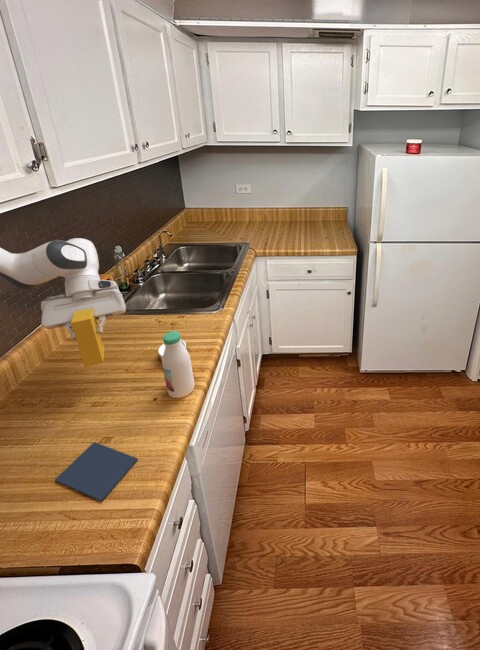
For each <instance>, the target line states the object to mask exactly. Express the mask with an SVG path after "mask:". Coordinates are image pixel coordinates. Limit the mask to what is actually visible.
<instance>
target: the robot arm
mask: <svg viewBox="0 0 480 650" xmlns="http://www.w3.org/2000/svg"><path fill="white" fill-rule="evenodd" d="M97 251H98V250H97V248H96V247H95V245H94V242H93V241H91V240H89V239H86V238H81V237H75V238H70V239H68V240H62V239H54V240H51V241H48V242H45V243H43V244H41V245H39V246H37V247H35V248H32V249H30V250H28V251H26V252H25V251H24V252H21V253H14V252H13V253H12V252H10V251H8V250H6V249H4V248H2V247H0V277H1V278H3V279H5V280H6V281H7V282H9V283H10V284H11V285H13V286H15V287H17V288H20V289H24V290H33V289H36V288H39V287H40V286H43V285H44V284H46V283H47V282H49V281H51V280H53V279H56V278H59V277H63V278H64V289H65V293H61V294H58V295H50V296H47V297H46V298H45V299H43V300H42V301H41V303H40V311H41V312H42V313H41V320H40V321H41V322H40V323H41V324H40V325H41V327H43V328H45V329H46V330H54V329H58V328H63V327H65V328H66V330H67V331H68V332H69V333H70V337H71V340H72V341H75V340H76V338H75V334H74V331H73V328H72V325H71V321H72V318H73V314H74V312H76V311H81V310H86V309H91V308H93V312H94V317H96V320H99V321H100V323H99V324H98V327H96V333H97V334H100V335H101V334H103V333H104V326H105V325H106V323H107V318H110V317H114V316H119V315H124V314H125V313H126V311H127V305H126V302H125V299H124V296H123V295H122V293H121V291H120V288H119V285H118V283H117V282H116V281H115V280H110V279H108V280H107V279H101V276H100V273H99V269H100V262H99V255H98V252H97Z"/></svg>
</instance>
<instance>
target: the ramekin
mask: <svg viewBox="0 0 480 650" xmlns="http://www.w3.org/2000/svg"><path fill="white" fill-rule="evenodd" d="M181 343H182V345H183V346H184V347H185V348H186V349H187V343H186V341H185V340H183V339H181ZM164 351H165V345H164V343H163V344H161V345H160V346H159V347H158V349H157V353H158V355H159V357H160V360H161V361H162V357H163V354H164Z"/></svg>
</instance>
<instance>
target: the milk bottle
mask: <svg viewBox="0 0 480 650" xmlns="http://www.w3.org/2000/svg"><path fill="white" fill-rule="evenodd" d="M181 340H182V336H181V332H179V331H177V330H171V331H168V332H167V333H165V334H164V335H163V337H162V341H163V344H164V345H165V351H164V354H163V357H162V360H161V365H162V371H163V375H164V381H165V386H166V390H167V394H168V395H169V396H170V397H171V398H173V399H182V398H185V397H188V395H190V394H191V393H192V392H193V391H194V389H195V378H194V372H193V367H192V361H191V356H190V353H189V351H188V349H187V347H186V348H185V347H184V346H183V345H182V343H181Z"/></svg>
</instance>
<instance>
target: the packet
mask: <svg viewBox="0 0 480 650" xmlns="http://www.w3.org/2000/svg"><path fill="white" fill-rule="evenodd" d="M71 325H72V328H71V329H72V330H73V331H74V334H75V338H76V339H75V340H76V341H75V342H76V344H77V347H78V350H79V353H80V356H81V359H82V363H83V365H84V368H86V367H90V366H94V365H97V364H101V363H104V358H105V346H104V342H103V340H102V339H103V338H102V336H101V335H102V334H101V333H100V334H97V333H96V327H98V326H99V324H98V321H97V319H96V317H94V312H93V308H91V309H86V310H81V311H76V312H74V314H73V318H72V321H71Z"/></svg>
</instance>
